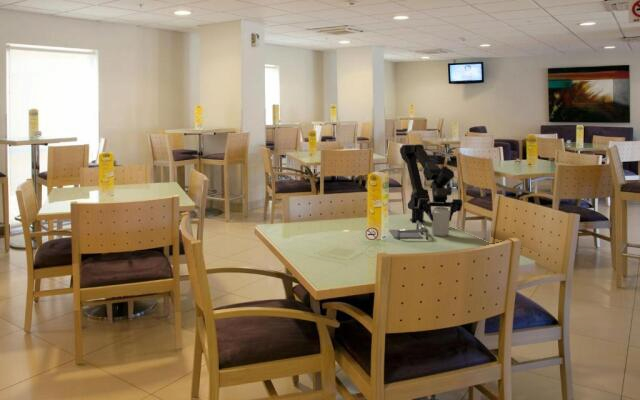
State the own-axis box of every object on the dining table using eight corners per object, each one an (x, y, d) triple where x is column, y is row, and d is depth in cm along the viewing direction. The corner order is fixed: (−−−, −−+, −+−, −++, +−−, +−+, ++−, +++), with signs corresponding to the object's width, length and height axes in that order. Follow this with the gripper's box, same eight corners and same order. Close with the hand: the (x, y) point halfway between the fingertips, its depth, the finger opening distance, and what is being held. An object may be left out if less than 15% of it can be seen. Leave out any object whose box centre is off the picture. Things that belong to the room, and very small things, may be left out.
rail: (389, 228, 253) (390, 219, 252) (418, 228, 254) (418, 219, 253) (397, 239, 233) (397, 230, 233) (428, 239, 234) (428, 230, 233)
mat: (389, 230, 249) (389, 229, 249) (415, 230, 249) (415, 229, 249) (394, 238, 235) (394, 237, 235) (422, 238, 236) (422, 237, 236)
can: (447, 233, 245) (448, 206, 243) (449, 237, 238) (451, 209, 236) (430, 232, 246) (431, 206, 244) (432, 236, 239) (433, 209, 237)
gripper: (419, 180, 242) (421, 209, 233) (462, 181, 241) (466, 210, 232) (417, 195, 251) (418, 224, 243) (458, 195, 250) (461, 225, 241)
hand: (441, 220), depth 239 cm, fingers closed on can, 7 cm apart
